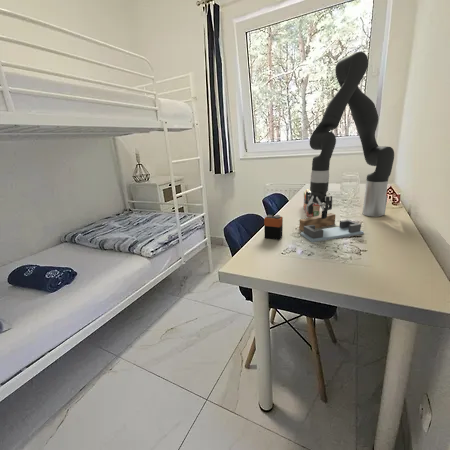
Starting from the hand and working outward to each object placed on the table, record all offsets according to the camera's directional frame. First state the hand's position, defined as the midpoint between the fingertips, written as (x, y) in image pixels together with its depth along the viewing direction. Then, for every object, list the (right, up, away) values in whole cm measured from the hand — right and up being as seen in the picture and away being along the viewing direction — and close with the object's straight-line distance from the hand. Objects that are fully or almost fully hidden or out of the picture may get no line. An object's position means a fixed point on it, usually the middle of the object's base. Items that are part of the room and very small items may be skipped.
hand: (316, 216), depth 115 cm
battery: (-21, -10, -7) cm, 25 cm away
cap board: (+3, -8, -8) cm, 12 cm away
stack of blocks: (+6, +3, +26) cm, 27 cm away
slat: (+1, -5, +2) cm, 5 cm away
